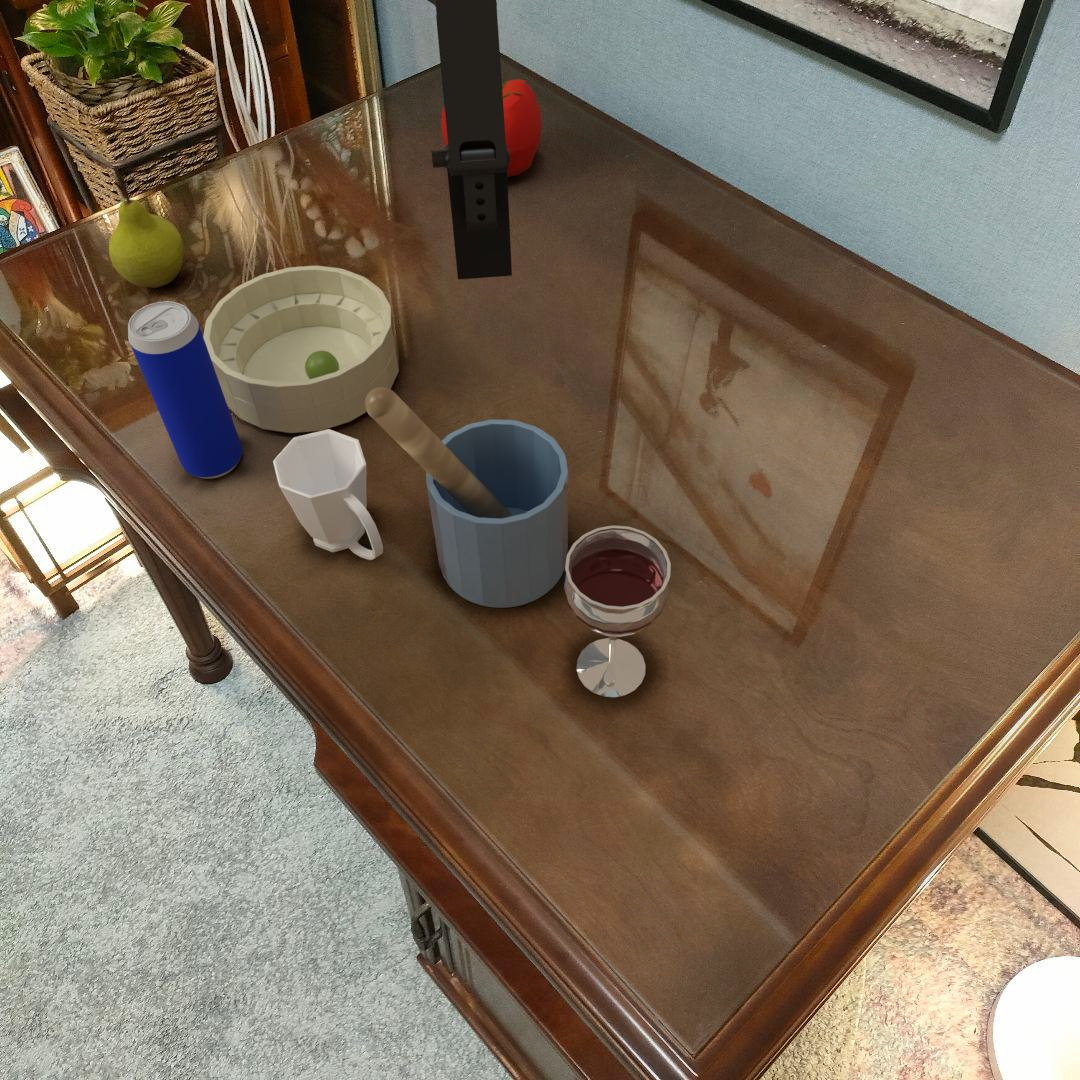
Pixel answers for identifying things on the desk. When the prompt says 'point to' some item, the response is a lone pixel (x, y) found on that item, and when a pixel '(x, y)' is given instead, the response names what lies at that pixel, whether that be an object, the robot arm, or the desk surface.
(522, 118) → the tomato
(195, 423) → the beverage can
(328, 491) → the cup
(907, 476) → the desk surface
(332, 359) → the olive
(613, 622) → the wineglass
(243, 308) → the bowl
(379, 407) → the stick
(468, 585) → the utensil pot
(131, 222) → the fruit
